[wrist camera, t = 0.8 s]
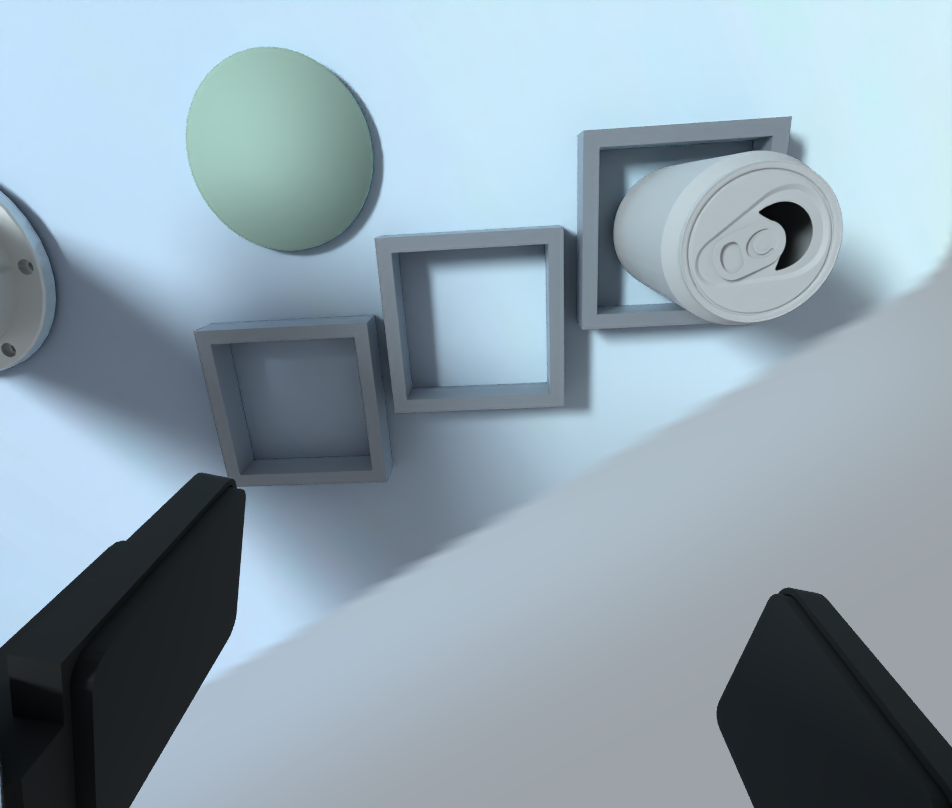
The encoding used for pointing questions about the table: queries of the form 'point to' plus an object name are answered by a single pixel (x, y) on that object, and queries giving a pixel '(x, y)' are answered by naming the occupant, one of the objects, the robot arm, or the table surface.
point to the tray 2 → (475, 395)
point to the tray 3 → (589, 316)
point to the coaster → (279, 149)
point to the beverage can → (731, 235)
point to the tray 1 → (232, 418)
